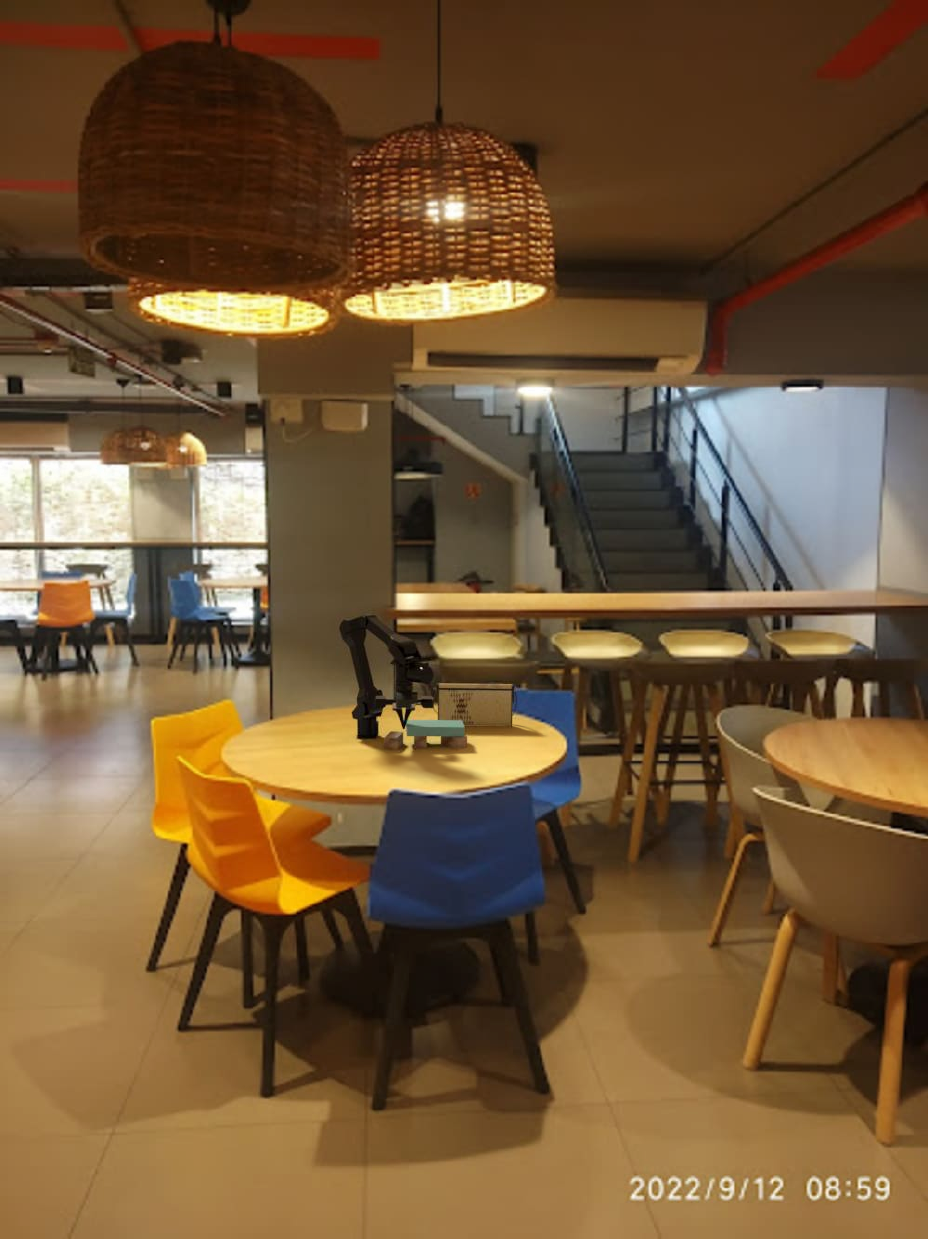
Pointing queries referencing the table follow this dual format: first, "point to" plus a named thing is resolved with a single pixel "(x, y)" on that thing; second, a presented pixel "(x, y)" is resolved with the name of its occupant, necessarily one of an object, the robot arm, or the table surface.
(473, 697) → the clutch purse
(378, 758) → the table surface
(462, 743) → the block
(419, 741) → the block
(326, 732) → the table surface
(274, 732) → the table surface
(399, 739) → the block
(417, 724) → the slab
